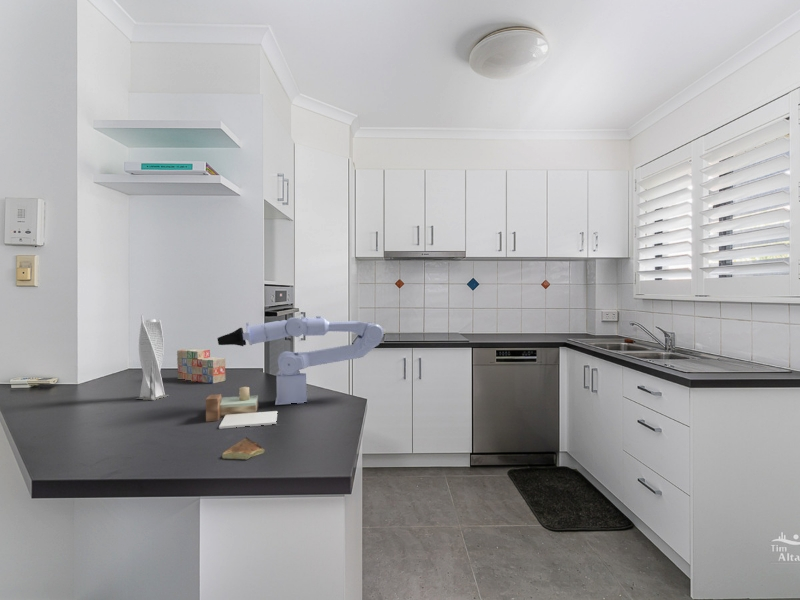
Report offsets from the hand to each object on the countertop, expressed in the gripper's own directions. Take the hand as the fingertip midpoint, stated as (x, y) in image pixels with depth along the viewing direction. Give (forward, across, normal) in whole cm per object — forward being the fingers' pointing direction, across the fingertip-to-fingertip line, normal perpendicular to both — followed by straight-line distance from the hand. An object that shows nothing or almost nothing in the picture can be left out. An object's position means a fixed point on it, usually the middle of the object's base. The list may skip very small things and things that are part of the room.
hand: (219, 341), depth 137 cm
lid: (-1, +6, +18) cm, 19 cm away
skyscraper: (+26, -24, +15) cm, 38 cm away
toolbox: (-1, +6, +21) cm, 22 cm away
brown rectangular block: (+4, +11, +21) cm, 24 cm away
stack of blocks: (+15, -53, +15) cm, 57 cm away
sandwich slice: (-4, +43, +24) cm, 50 cm away
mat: (-6, +18, +22) cm, 29 cm away
